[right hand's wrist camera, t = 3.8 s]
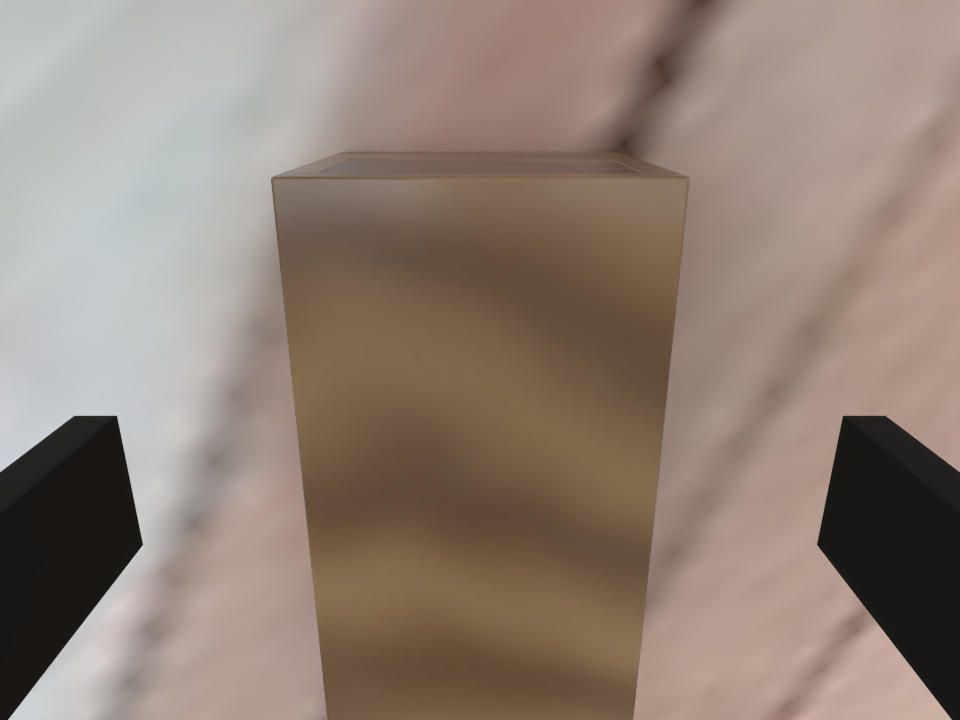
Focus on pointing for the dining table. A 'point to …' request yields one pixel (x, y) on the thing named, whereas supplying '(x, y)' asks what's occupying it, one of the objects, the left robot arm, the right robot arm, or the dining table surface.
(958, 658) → the right robot arm
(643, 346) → the wooden recessed-top box
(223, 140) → the dining table surface
